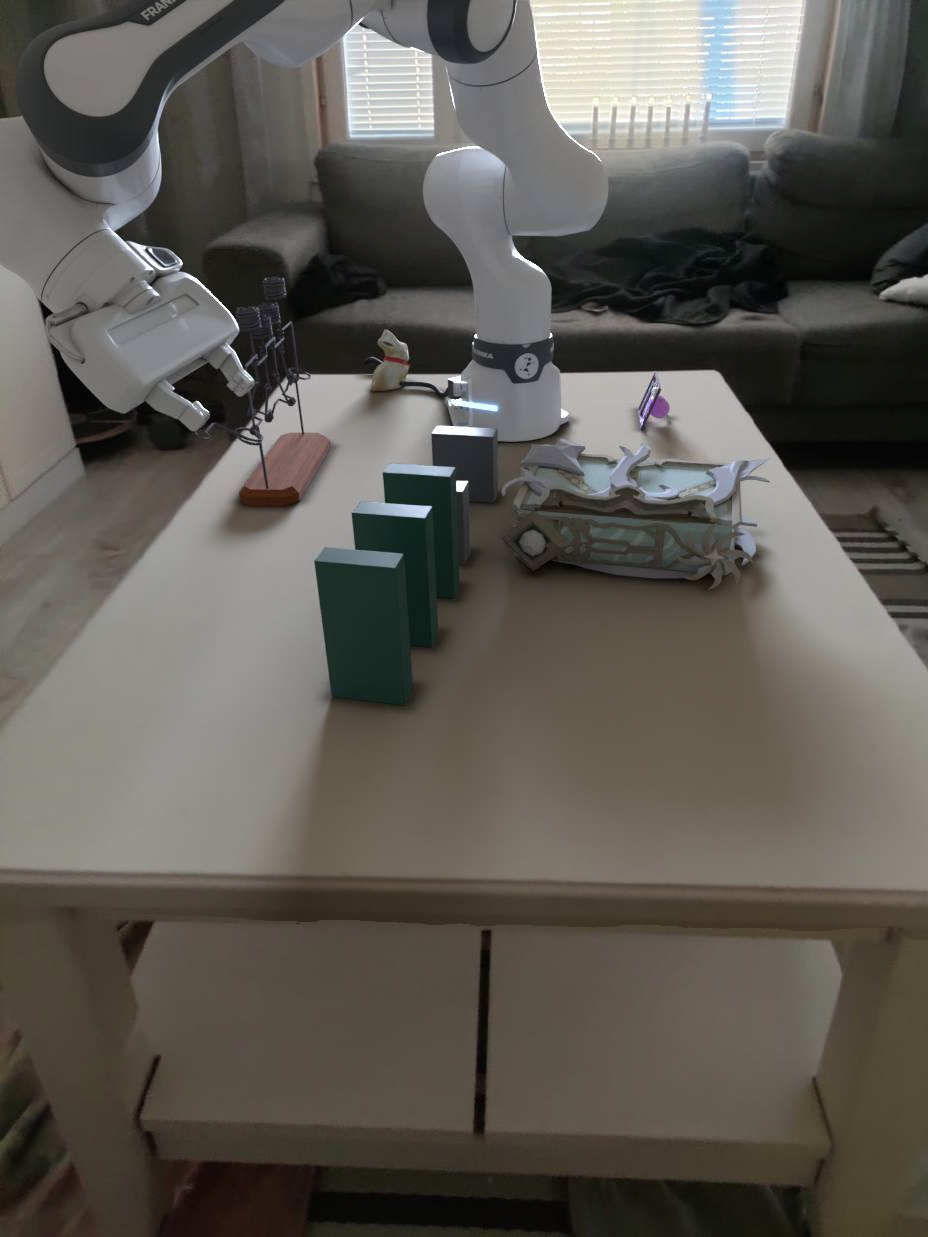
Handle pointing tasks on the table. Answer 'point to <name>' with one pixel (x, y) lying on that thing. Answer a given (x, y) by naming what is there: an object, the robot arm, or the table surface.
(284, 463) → the figure sculpture
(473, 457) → the grey books
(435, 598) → the green book
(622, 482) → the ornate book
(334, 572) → the green books
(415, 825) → the table surface
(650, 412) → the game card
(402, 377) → the chocolate bunny
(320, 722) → the table surface
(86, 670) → the table surface
